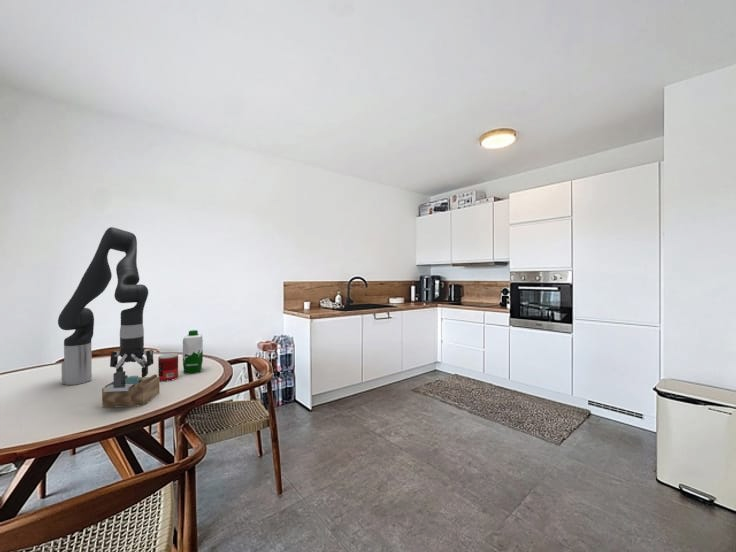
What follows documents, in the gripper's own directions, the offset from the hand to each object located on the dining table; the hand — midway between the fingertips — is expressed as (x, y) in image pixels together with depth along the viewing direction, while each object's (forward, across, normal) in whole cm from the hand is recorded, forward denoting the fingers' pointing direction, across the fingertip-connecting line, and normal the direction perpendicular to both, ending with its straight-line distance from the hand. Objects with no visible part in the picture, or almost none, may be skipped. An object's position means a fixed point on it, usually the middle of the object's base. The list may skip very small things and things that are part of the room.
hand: (132, 377), depth 125 cm
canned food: (+9, -2, -25) cm, 27 cm away
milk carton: (+9, -9, -35) cm, 37 cm away
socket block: (+9, 0, 0) cm, 9 cm away
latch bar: (+2, 0, +8) cm, 8 cm away
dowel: (+9, 0, 0) cm, 9 cm away
